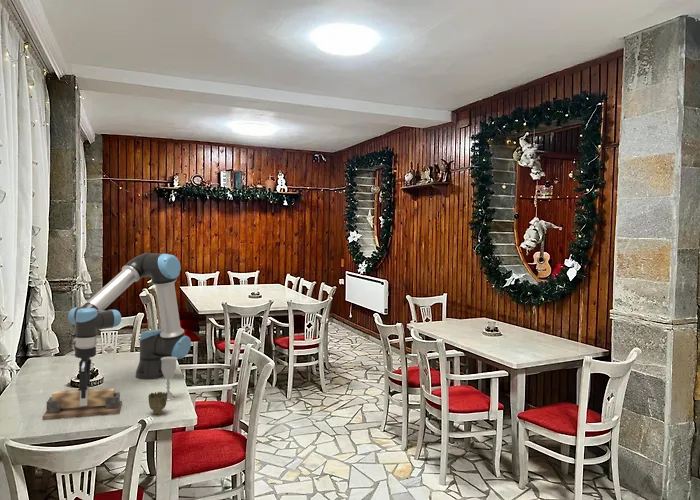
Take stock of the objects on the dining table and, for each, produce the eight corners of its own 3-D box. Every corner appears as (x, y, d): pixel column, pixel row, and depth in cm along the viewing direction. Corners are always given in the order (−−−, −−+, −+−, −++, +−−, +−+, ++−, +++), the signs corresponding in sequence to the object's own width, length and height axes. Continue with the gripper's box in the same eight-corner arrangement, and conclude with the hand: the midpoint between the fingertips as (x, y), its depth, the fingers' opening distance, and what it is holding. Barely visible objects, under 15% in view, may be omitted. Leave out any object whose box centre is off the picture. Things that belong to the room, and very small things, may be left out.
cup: (151, 410, 207) (151, 391, 207) (169, 410, 208) (169, 391, 208) (145, 416, 200) (145, 396, 200) (164, 416, 200) (164, 397, 200)
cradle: (121, 404, 213) (122, 390, 213) (119, 414, 202) (119, 399, 201) (49, 409, 204) (49, 395, 203) (42, 420, 192) (42, 404, 192)
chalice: (179, 397, 224) (180, 357, 224) (169, 402, 218) (170, 361, 217) (166, 395, 226) (167, 356, 226) (155, 399, 220) (156, 359, 220)
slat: (113, 402, 207) (114, 388, 207) (112, 404, 205) (113, 390, 205) (53, 406, 200) (53, 391, 200) (51, 408, 197) (52, 393, 197)
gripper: (78, 342, 208) (77, 398, 209) (71, 351, 193) (70, 411, 194) (98, 342, 211) (97, 397, 211) (93, 350, 196) (91, 410, 196)
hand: (84, 404), depth 202 cm, fingers closed on slat, 3 cm apart
